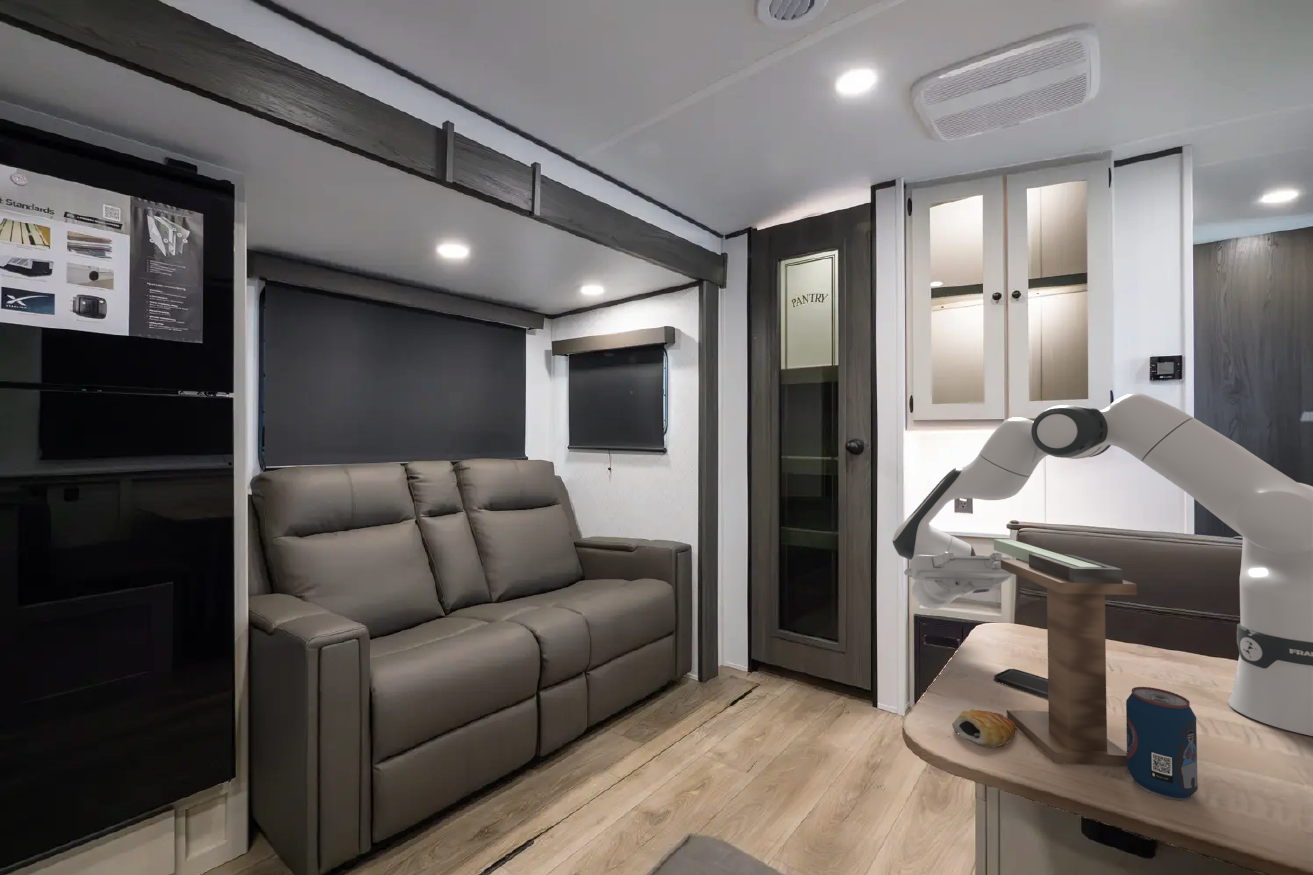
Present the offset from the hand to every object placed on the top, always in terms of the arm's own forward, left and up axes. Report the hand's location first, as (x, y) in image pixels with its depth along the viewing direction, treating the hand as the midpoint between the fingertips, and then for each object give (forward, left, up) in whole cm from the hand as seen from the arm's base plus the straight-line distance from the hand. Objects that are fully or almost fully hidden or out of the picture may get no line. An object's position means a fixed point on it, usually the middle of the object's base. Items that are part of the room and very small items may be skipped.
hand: (974, 556), depth 114 cm
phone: (-8, +9, -23) cm, 26 cm away
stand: (0, +28, -23) cm, 36 cm away
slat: (0, +23, +3) cm, 23 cm away
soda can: (-5, +39, -23) cm, 46 cm away
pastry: (+11, +28, -23) cm, 38 cm away
